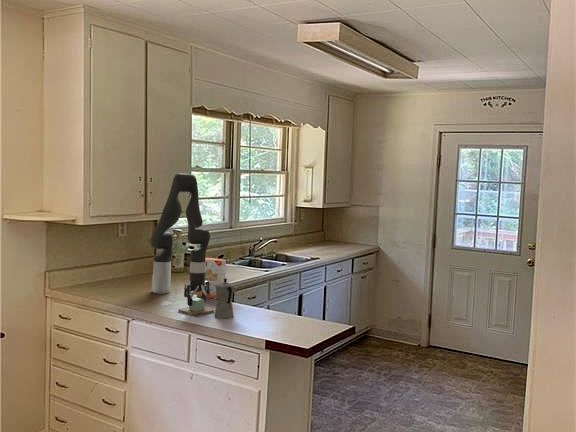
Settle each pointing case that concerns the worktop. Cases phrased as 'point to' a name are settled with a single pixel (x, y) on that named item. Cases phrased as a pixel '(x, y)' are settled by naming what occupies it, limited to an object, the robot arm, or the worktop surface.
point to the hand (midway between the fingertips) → (196, 304)
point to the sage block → (197, 304)
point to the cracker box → (214, 275)
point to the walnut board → (196, 313)
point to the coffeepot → (224, 300)
